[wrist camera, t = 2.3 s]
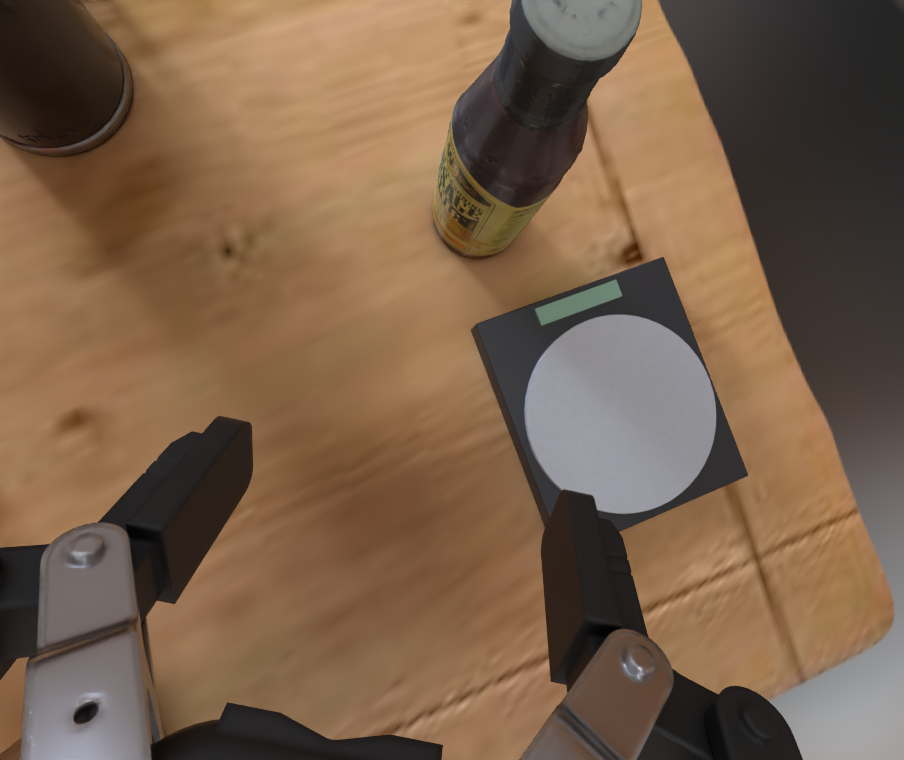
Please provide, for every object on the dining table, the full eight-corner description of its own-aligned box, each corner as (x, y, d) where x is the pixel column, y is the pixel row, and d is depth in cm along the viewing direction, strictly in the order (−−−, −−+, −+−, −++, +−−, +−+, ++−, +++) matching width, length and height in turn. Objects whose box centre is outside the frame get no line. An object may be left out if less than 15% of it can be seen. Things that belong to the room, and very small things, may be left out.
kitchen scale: (470, 329, 35) (477, 322, 32) (647, 265, 36) (668, 253, 34) (552, 547, 34) (566, 559, 31) (727, 472, 36) (755, 477, 33)
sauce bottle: (421, 185, 35) (456, -111, 15) (506, 170, 36) (645, -129, 16) (442, 276, 35) (505, 95, 15) (527, 259, 35) (695, 65, 16)
